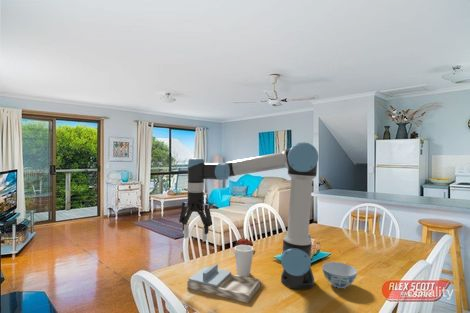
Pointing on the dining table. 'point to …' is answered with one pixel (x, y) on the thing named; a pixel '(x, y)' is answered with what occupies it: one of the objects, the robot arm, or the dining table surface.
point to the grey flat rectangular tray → (231, 287)
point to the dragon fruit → (244, 242)
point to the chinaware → (339, 274)
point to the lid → (210, 275)
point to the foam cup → (243, 259)
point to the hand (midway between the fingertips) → (195, 239)
